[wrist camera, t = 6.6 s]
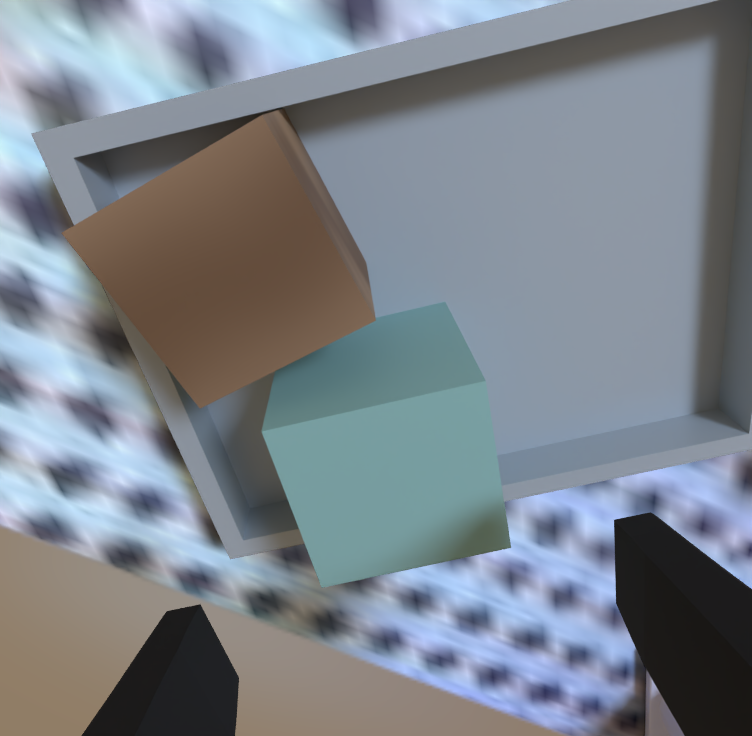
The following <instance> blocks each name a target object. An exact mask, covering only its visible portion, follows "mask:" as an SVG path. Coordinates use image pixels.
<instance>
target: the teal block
mask: <svg viewBox="0 0 752 736" xmlns="http://www.w3.org/2000/svg"><path fill="white" fill-rule="evenodd" d="M262 434H263V437H264V439H265V442H266V445H267V447H268V450H269V452H270V455H271V457H272V460H273V463H274V465H275V468H276V470H277V473H278V476H279V478H280V481H281V483H282V486H283V489H284V491H285V494H286V496H287V499H288V502H289V504H290V507H291V509H292V512H293V515H294V517H295V520H296V522H297V525H298V527H299V530H300V533H301V535H302V538H303V540H304V543H305V546H306V548H307V551H308V553H309V556H310V559H311V561H312V564H313V566H314V569H315V572H316V574H317V577H318V579H319V582H320V584H321V587H322V588H323V587H328V586H333V585H337V584H342V583H347V582H351V581H356V580H361V579H366V578H370V577H375V576H380V575H384V574H389V573H394V572H399V571H403V570H408V569H413V568H417V567H422V566H427V565H432V564H436V563H441V562H446V561H450V560H455V559H460V558H465V557H469V556H474V555H479V554H484V553H488V552H493V551H498V550H502V549H507V548H511V544H510V538H509V531H508V524H507V518H506V511H505V505H504V498H503V491H502V485H501V478H500V471H499V465H498V458H497V452H496V445H495V438H494V432H493V425H492V419H491V412H490V405H489V399H488V392H487V386H486V380H485V378H484V376H483V374H482V372H481V370H480V368H479V367H478V365H477V363H476V361H475V359H474V357H473V355H472V353H471V351H470V349H469V347H468V345H467V343H466V341H465V339H464V337H463V335H462V333H461V331H460V329H459V327H458V326H457V324H456V322H455V320H454V318H453V316H452V314H451V312H450V310H449V308H448V306H447V304H446V302H441V303H437V304H433V305H428V306H424V307H420V308H415V309H411V310H407V311H403V312H398V313H394V314H390V315H386V316H381V317H377V318H376V321H374V322H372V323H370V324H368V325H366V326H364V327H362V328H360V329H358V330H356V331H354V332H352V333H350V334H348V335H346V336H344V337H342V338H340V339H338V340H336V341H334V342H332V343H330V344H328V345H326V346H324V347H322V348H320V349H318V350H316V351H314V352H312V353H310V354H308V355H306V356H304V357H302V358H300V359H298V360H296V361H294V362H292V363H290V364H288V365H286V366H284V367H282V368H280V369H278V370H276V371H275V374H274V378H273V383H272V387H271V392H270V396H269V400H268V405H267V409H266V414H265V418H264V423H263V427H262Z"/></svg>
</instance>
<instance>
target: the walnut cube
mask: <svg viewBox="0 0 752 736" xmlns="http://www.w3.org/2000/svg"><path fill="white" fill-rule="evenodd" d="M62 234H63V236H64V237H65V238H66V239H67V241H68V242H69V243H70V244H71V246H72V247H73V248H74V250H75V251H76V252H77V253H78V255H79V256H80V257H81V258H82V260H83V261H84V262H85V263H86V265H87V266H88V267H89V269H90V270H91V271H92V272H93V274H94V275H95V276H96V277H97V279H98V280H99V281H100V283H101V284H102V285H103V286H104V288H105V289H106V290H107V291H108V293H109V294H110V295H111V297H112V298H113V299H114V300H115V302H116V303H117V304H118V305H119V307H120V308H121V309H122V310H123V312H124V313H125V314H126V316H127V317H128V318H129V319H130V321H131V322H132V323H133V324H134V326H135V327H136V328H137V330H138V331H139V332H140V333H141V335H142V336H143V337H144V338H145V340H146V341H147V342H148V343H149V345H150V346H151V347H152V349H153V350H154V351H155V352H156V354H157V355H158V356H159V357H160V359H161V360H162V361H163V363H164V364H165V365H166V366H167V368H168V369H169V370H170V371H171V373H172V374H173V375H174V377H175V378H176V379H177V380H178V382H179V383H180V384H181V385H182V387H183V388H184V389H185V390H186V392H187V393H188V394H189V396H190V397H191V398H192V399H193V401H194V402H195V403H196V404H197V406H198V407H199V408H202V407H204V406H206V405H208V404H210V403H212V402H214V401H216V400H218V399H220V398H222V397H224V396H226V395H228V394H230V393H232V392H234V391H236V390H238V389H240V388H242V387H244V386H246V385H248V384H250V383H252V382H254V381H256V380H258V379H260V378H262V377H264V376H266V375H268V374H270V373H272V372H274V371H276V370H278V369H280V368H282V367H284V366H286V365H288V364H290V363H292V362H294V361H296V360H298V359H300V358H302V357H304V356H306V355H308V354H310V353H312V352H314V351H316V350H318V349H320V348H322V347H324V346H326V345H328V344H330V343H332V342H334V341H336V340H338V339H340V338H342V337H344V336H346V335H348V334H350V333H352V332H354V331H356V330H358V329H360V328H362V327H364V326H366V325H368V324H370V323H372V322H374V321H376V317H375V311H374V305H373V299H372V293H371V287H370V281H369V275H368V269H367V263H366V261H365V259H364V257H363V255H362V253H361V251H360V250H359V248H358V246H357V244H356V242H355V240H354V238H353V237H352V235H351V233H350V231H349V229H348V227H347V225H346V223H345V222H344V220H343V218H342V216H341V214H340V212H339V210H338V208H337V207H336V205H335V203H334V201H333V199H332V197H331V195H330V193H329V192H328V190H327V188H326V186H325V184H324V182H323V180H322V179H321V177H320V175H319V173H318V171H317V169H316V167H315V165H314V164H313V162H312V160H311V158H310V156H309V154H308V152H307V150H306V149H305V147H304V145H303V143H302V141H301V139H300V137H299V135H298V134H297V132H296V130H295V128H294V126H293V124H292V122H291V121H290V119H289V117H288V115H287V113H286V111H285V109H280V110H277V111H274V112H270V113H267V114H264V115H261V116H259V117H258V118H256V119H254V120H253V121H251V122H249V123H247V124H246V125H244V126H242V127H241V128H239V129H237V130H236V131H234V132H232V133H230V134H229V135H227V136H225V137H224V138H222V139H220V140H219V141H217V142H215V143H213V144H212V145H210V146H208V147H207V148H205V149H203V150H202V151H200V152H198V153H196V154H195V155H193V156H191V157H190V158H188V159H186V160H185V161H183V162H181V163H179V164H178V165H176V166H174V167H173V168H171V169H169V170H168V171H166V172H164V173H162V174H161V175H159V176H157V177H156V178H154V179H152V180H151V181H149V182H147V183H145V184H144V185H142V186H140V187H139V188H137V189H135V190H134V191H132V192H130V193H128V194H127V195H125V196H123V197H122V198H120V199H118V200H117V201H115V202H113V203H111V204H110V205H108V206H106V207H105V208H103V209H101V210H99V211H98V212H96V213H94V214H93V215H91V216H89V217H88V218H86V219H84V220H82V221H81V222H79V223H77V224H76V225H74V226H72V227H71V228H69V229H67V230H65V231H64V232H62Z"/></svg>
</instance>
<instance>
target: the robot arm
mask: <svg viewBox="0 0 752 736" xmlns="http://www.w3.org/2000/svg"><path fill="white" fill-rule="evenodd" d="M614 533H615V573H616V604H617V606H618V608H619V611H620V613H621V615H622V618H623V620H624V622H625V624H626V627H627V629H628V631H629V633H630V636H631V638H632V640H633V642H634V644H635V647H636V649H637V651H638V653H639V655H640V658H641V660H642V662H643V664H644V666H645V668H646V720H645V736H752V589H751V588H749V587H748V586H747V585H745V584H744V583H743V582H741V581H740V580H739V579H737V578H736V577H735V576H733V575H732V574H731V573H729V572H728V571H727V570H725V569H724V568H723V567H721V566H720V565H719V564H717V563H716V562H715V561H714V560H712V559H711V558H710V557H708V556H707V555H706V554H704V553H703V552H702V551H700V550H699V549H698V548H697V547H695V546H694V545H693V544H691V543H690V542H689V541H688V540H686V539H685V538H684V537H682V536H681V535H680V534H679V533H677V532H676V531H675V530H674V529H672V528H671V527H670V526H668V525H667V524H666V523H665V522H663V521H662V520H661V519H660V518H658V517H657V516H655V515H654V514H652V513H651V512H650V513H645V514H641V515H636V516H631V517H626V518H621V519H616V520H614ZM238 683H239V677H238V675H237V673H236V671H235V669H234V668H233V666H232V664H231V662H230V660H229V658H228V656H227V654H226V653H225V650H224V648H223V647H222V645H221V643H220V641H219V639H218V637H217V635H216V633H215V632H214V629H213V628H212V626H211V624H210V622H209V620H208V618H207V616H206V614H205V613H204V611H203V609H202V607H201V605H195V606H191V607H185V608H180V609H176V610H171V611H167V612H166V613H165V615H164V616H163V618H162V619H161V620H160V622H159V623H158V625H157V626H156V628H155V629H154V631H153V632H152V634H151V635H150V637H149V638H148V639H147V641H146V642H145V644H144V645H143V647H142V648H141V650H140V651H139V653H138V654H137V656H136V657H135V659H134V660H133V662H132V663H131V664H130V666H129V667H128V669H127V670H126V672H125V673H124V675H123V676H122V678H121V679H120V681H119V682H118V684H117V685H116V687H115V688H114V690H113V691H112V693H111V694H110V696H109V697H108V698H107V700H106V701H105V703H104V704H103V706H102V707H101V709H100V710H99V711H98V713H97V714H96V716H95V717H94V719H93V720H92V721H91V723H90V724H89V726H88V727H87V729H86V730H85V731H84V733H83V734H82V736H235V728H236V717H237V701H238V700H237V699H238Z"/></svg>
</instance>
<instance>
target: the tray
mask: <svg viewBox="0 0 752 736" xmlns="http://www.w3.org/2000/svg"><path fill="white" fill-rule="evenodd" d="M280 109H285V111H286V113H287V115H288V117H289V119H290V121H291V122H292V124H293V126H294V128H295V130H296V132H297V134H298V135H299V137H300V139H301V141H302V143H303V145H304V147H305V149H306V150H307V152H308V154H309V156H310V158H311V160H312V162H313V164H314V165H315V167H316V169H317V171H318V173H319V175H320V177H321V179H322V180H323V182H324V184H325V186H326V188H327V190H328V192H329V193H330V195H331V197H332V199H333V201H334V203H335V205H336V207H337V208H338V210H339V212H340V214H341V216H342V218H343V220H344V222H345V223H346V225H347V227H348V229H349V231H350V233H351V235H352V237H353V238H354V240H355V242H356V244H357V246H358V248H359V250H360V251H361V253H362V255H363V257H364V259H365V261H366V263H367V269H368V275H369V281H370V287H371V293H372V299H373V305H374V311H375V317H376V318H377V317H381V316H386V315H390V314H394V313H398V312H403V311H407V310H411V309H415V308H420V307H424V306H428V305H433V304H437V303H441V302H446V304H447V306H448V308H449V310H450V312H451V314H452V316H453V318H454V320H455V322H456V324H457V326H458V327H459V329H460V331H461V333H462V335H463V337H464V339H465V341H466V343H467V345H468V347H469V349H470V351H471V353H472V355H473V357H474V359H475V361H476V363H477V365H478V367H479V368H480V370H481V372H482V374H483V376H484V378H485V380H486V386H487V392H488V399H489V405H490V412H491V419H492V425H493V432H494V438H495V445H496V452H497V458H498V465H499V471H500V478H501V485H502V491H503V498H504V502H505V501H510V500H514V499H519V498H524V497H529V496H534V495H538V494H543V493H548V492H553V491H557V490H562V489H567V488H572V487H576V486H581V485H586V484H591V483H595V482H600V481H605V480H610V479H614V478H619V477H624V476H629V475H634V474H638V473H643V472H648V471H653V470H657V469H662V468H667V467H672V466H676V465H681V464H686V463H691V462H695V461H700V460H705V459H710V458H715V457H719V456H724V455H729V454H734V453H738V452H743V451H748V450H752V0H570V1H566V2H562V3H558V4H554V5H550V6H546V7H542V8H538V9H533V10H529V11H525V12H521V13H517V14H513V15H509V16H505V17H501V18H497V19H493V20H489V21H485V22H481V23H477V24H473V25H469V26H465V27H461V28H457V29H453V30H449V31H445V32H440V33H436V34H432V35H428V36H424V37H420V38H416V39H412V40H408V41H404V42H400V43H396V44H392V45H388V46H384V47H380V48H376V49H372V50H368V51H364V52H360V53H356V54H352V55H347V56H343V57H339V58H335V59H331V60H327V61H323V62H319V63H315V64H311V65H307V66H303V67H299V68H295V69H291V70H287V71H283V72H279V73H275V74H271V75H267V76H263V77H258V78H254V79H250V80H246V81H242V82H238V83H234V84H230V85H226V86H222V87H218V88H214V89H210V90H206V91H202V92H198V93H194V94H190V95H186V96H182V97H178V98H174V99H170V100H165V101H161V102H157V103H153V104H149V105H145V106H141V107H137V108H133V109H129V110H125V111H121V112H117V113H113V114H109V115H105V116H101V117H97V118H93V119H89V120H85V121H81V122H77V123H72V124H68V125H64V126H60V127H56V128H52V129H48V130H44V131H40V132H36V133H32V137H33V139H34V141H35V143H36V145H37V147H38V149H39V152H40V154H41V156H42V158H43V160H44V162H45V164H46V167H47V169H48V171H49V173H50V175H51V177H52V179H53V182H54V184H55V186H56V188H57V190H58V192H59V194H60V196H61V199H62V201H63V203H64V205H65V207H66V209H67V211H68V214H69V216H70V218H71V220H72V222H73V224H74V225H76V224H77V223H79V222H81V221H82V220H84V219H86V218H88V217H89V216H91V215H93V214H94V213H96V212H98V211H99V210H101V209H103V208H105V207H106V206H108V205H110V204H111V203H113V202H115V201H117V200H118V199H120V198H122V197H123V196H125V195H127V194H128V193H130V192H132V191H134V190H135V189H137V188H139V187H140V186H142V185H144V184H145V183H147V182H149V181H151V180H152V179H154V178H156V177H157V176H159V175H161V174H162V173H164V172H166V171H168V170H169V169H171V168H173V167H174V166H176V165H178V164H179V163H181V162H183V161H185V160H186V159H188V158H190V157H191V156H193V155H195V154H196V153H198V152H200V151H202V150H203V149H205V148H207V147H208V146H210V145H212V144H213V143H215V142H217V141H219V140H220V139H222V138H224V137H225V136H227V135H229V134H230V133H232V132H234V131H236V130H237V129H239V128H241V127H242V126H244V125H246V124H247V123H249V122H251V121H253V120H254V119H256V118H258V117H259V116H261V115H264V114H267V113H270V112H274V111H277V110H280ZM102 286H103V285H102ZM103 288H104V286H103ZM104 291H105V293H106V295H107V297H108V299H109V301H110V303H111V305H112V308H113V310H114V312H115V314H116V316H117V318H118V320H119V323H120V325H121V327H122V329H123V331H124V333H125V335H126V338H127V340H128V342H129V344H130V346H131V348H132V350H133V352H134V355H135V357H136V359H137V361H138V363H139V365H140V367H141V370H142V372H143V374H144V376H145V378H146V380H147V382H148V385H149V387H150V389H151V391H152V393H153V395H154V397H155V400H156V402H157V404H158V406H159V408H160V410H161V412H162V414H163V417H164V419H165V421H166V423H167V425H168V427H169V429H170V432H171V434H172V436H173V438H174V440H175V442H176V444H177V447H178V449H179V451H180V453H181V455H182V457H183V459H184V461H185V464H186V466H187V468H188V470H189V472H190V474H191V476H192V479H193V481H194V483H195V485H196V487H197V489H198V491H199V494H200V496H201V498H202V500H203V502H204V504H205V506H206V509H207V511H208V513H209V515H210V517H211V519H212V521H213V523H214V526H215V528H216V530H217V532H218V534H219V536H220V538H221V541H222V543H223V545H224V547H225V549H226V551H227V553H228V556H229V558H230V559H233V558H238V557H243V556H248V555H252V554H257V553H262V552H267V551H272V550H276V549H281V548H286V547H291V546H295V545H300V544H305V543H304V540H303V538H302V535H301V533H300V530H299V527H298V525H297V522H296V520H295V517H294V515H293V512H292V509H291V507H290V504H289V502H288V499H287V496H286V494H285V491H284V489H283V486H282V483H281V481H280V478H279V476H278V473H277V470H276V468H275V465H274V463H273V460H272V457H271V455H270V452H269V450H268V447H267V445H266V442H265V439H264V437H263V434H262V427H263V423H264V418H265V414H266V409H267V405H268V400H269V396H270V392H271V387H272V383H273V378H274V374H275V371H274V372H272V373H270V374H268V375H266V376H264V377H262V378H260V379H258V380H256V381H254V382H252V383H250V384H248V385H246V386H244V387H242V388H240V389H238V390H236V391H234V392H232V393H230V394H228V395H226V396H224V397H222V398H220V399H218V400H216V401H214V402H212V403H210V404H208V405H206V406H204V407H202V408H199V407H198V406H197V404H196V403H195V402H194V401H193V399H192V398H191V397H190V396H189V394H188V393H187V392H186V390H185V389H184V388H183V387H182V385H181V384H180V383H179V382H178V380H177V379H176V378H175V377H174V375H173V374H172V373H171V371H170V370H169V369H168V368H167V366H166V365H165V364H164V363H163V361H162V360H161V359H160V357H159V356H158V355H157V354H156V352H155V351H154V350H153V349H152V347H151V346H150V345H149V343H148V342H147V341H146V340H145V338H144V337H143V336H142V335H141V333H140V332H139V331H138V330H137V328H136V327H135V326H134V324H133V323H132V322H131V321H130V319H129V318H128V317H127V316H126V314H125V313H124V312H123V310H122V309H121V308H120V307H119V305H118V304H117V303H116V302H115V300H114V299H113V298H112V297H111V295H110V294H109V293H108V291H107V290H106V289H105V288H104Z"/></svg>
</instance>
